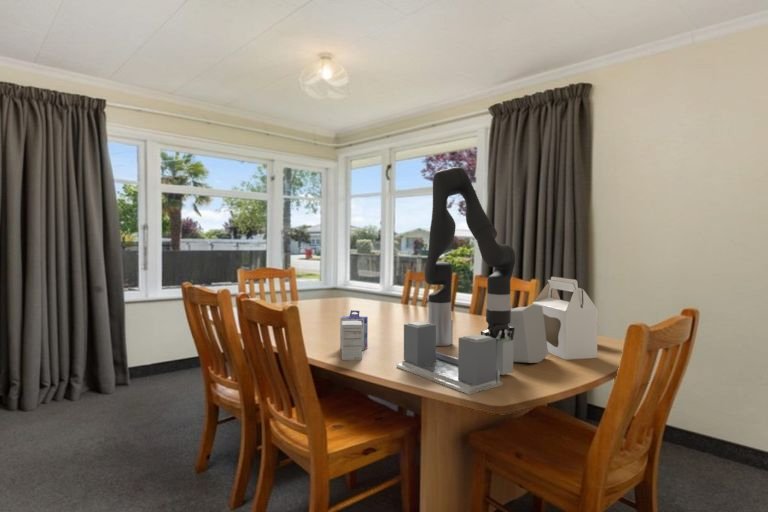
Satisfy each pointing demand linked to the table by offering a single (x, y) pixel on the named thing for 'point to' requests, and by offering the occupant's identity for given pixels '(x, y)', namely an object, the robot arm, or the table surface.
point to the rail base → (447, 374)
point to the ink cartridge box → (364, 327)
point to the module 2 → (477, 359)
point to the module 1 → (419, 342)
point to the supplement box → (351, 340)
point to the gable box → (569, 320)
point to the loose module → (504, 356)
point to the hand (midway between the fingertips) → (497, 361)
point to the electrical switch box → (528, 334)
